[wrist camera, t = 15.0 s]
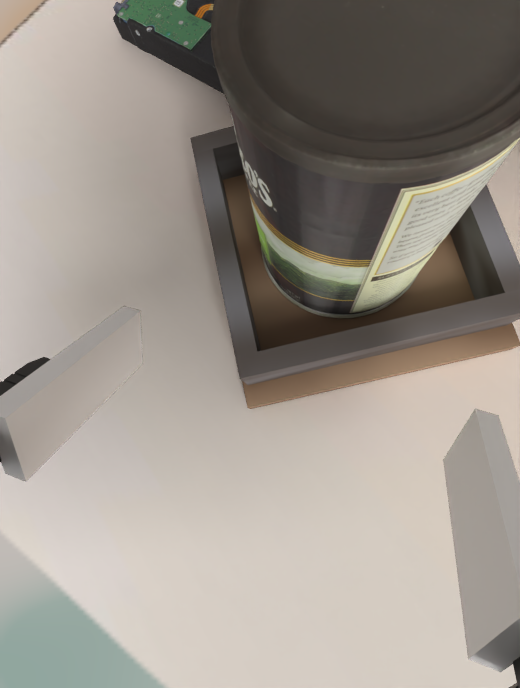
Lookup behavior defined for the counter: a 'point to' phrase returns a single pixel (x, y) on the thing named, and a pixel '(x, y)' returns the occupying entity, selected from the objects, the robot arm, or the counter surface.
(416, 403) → the counter surface
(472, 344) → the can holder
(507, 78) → the coffee can
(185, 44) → the disk drive
